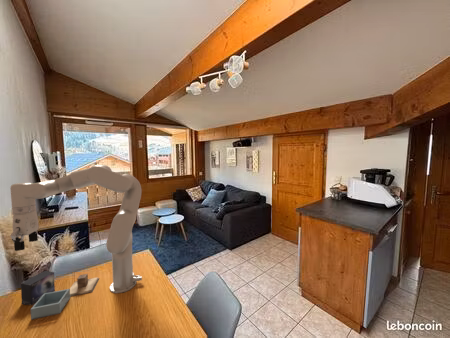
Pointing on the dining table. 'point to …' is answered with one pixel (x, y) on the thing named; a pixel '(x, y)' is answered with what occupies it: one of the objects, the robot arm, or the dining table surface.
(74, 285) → the lid
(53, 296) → the open box
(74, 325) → the dining table surface
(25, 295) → the small box
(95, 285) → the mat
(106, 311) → the dining table surface
